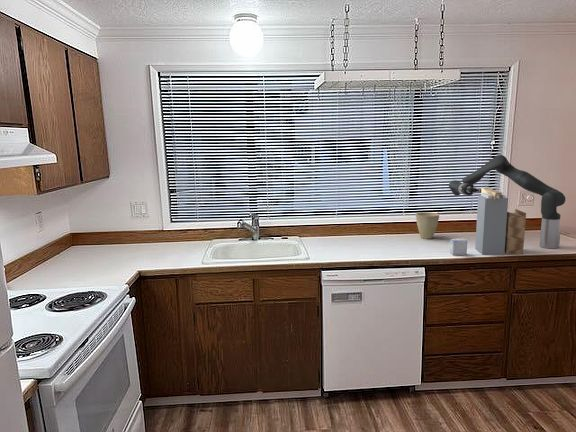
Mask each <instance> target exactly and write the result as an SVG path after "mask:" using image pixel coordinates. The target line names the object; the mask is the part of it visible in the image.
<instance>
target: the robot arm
mask: <svg viewBox="0 0 576 432" xmlns="http://www.w3.org/2000/svg"><path fill="white" fill-rule="evenodd" d="M493 170H495V171H496V172H497V173H499V174H501V175H503V176H506V177H507V178H509V179H510V180H511V181H512V182H513V183H515V184H516V185H517V186H519V187H520V188H522V189H524V190H526V191H528V192H530V193H534V194H536V195H538V196H541V199H540V200H541V203H540V213H541V223H540V224H541V227H540V237H539V247H541V248H544V249H557V248H560V245H561V244H560V242H561V241H560V240H561V231H560V225H561V214H560V213H559V212H558V209H557V208H558V207H561V206H563V205H564V204H565V203H566V196H565V194H564V193H563V192H562V191H559V190H557V189H556V188H554V187H552V186H549V185H548V184H546V183H545V182H544V181H542V180H540V179H539V178H537V177H535V176H534V175H533V174H531V173H529V172H528V171H526V170H525V171H524V170H522V169H518V168H517V167H515V166H514V165H513V164H511V163H510V162H509V160H508V159H507V157H506V156H505V155H502V154H499V155H496V156H494V157H493V158H491V159H490V160H489V161H487V162H486V163H485V164H484V165H482V166H481V167H479V168H478V169H476V170H475V171H473V172H471V173H470V174H468V175H467V176H464V177H463V178H462V179H461V180H462V181H460V180H451V181H449V183H448V188H449V190H450V191H451V193H452V194H453V195H454V196H456V197H457V196H460V195H464V196H472V195H474V194H481V190H482V188H480V187H476V186H475V184H477V183H478V182H480V181H481V180H482V179H483V177H485V175H487V174H488V173H489V172H491V171H493Z"/></svg>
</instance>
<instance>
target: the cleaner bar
mask: <svg viewBox="0 0 576 432" xmlns="http://www.w3.org/2000/svg"><path fill="white" fill-rule="evenodd" d="M481 189H482V190H481V193H486V194H489V195H492V198H494V199H503V195H504V194H503V192H501V191H499V190H495V189H492V188H489V187H481ZM481 193H480V194H481Z"/></svg>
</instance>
